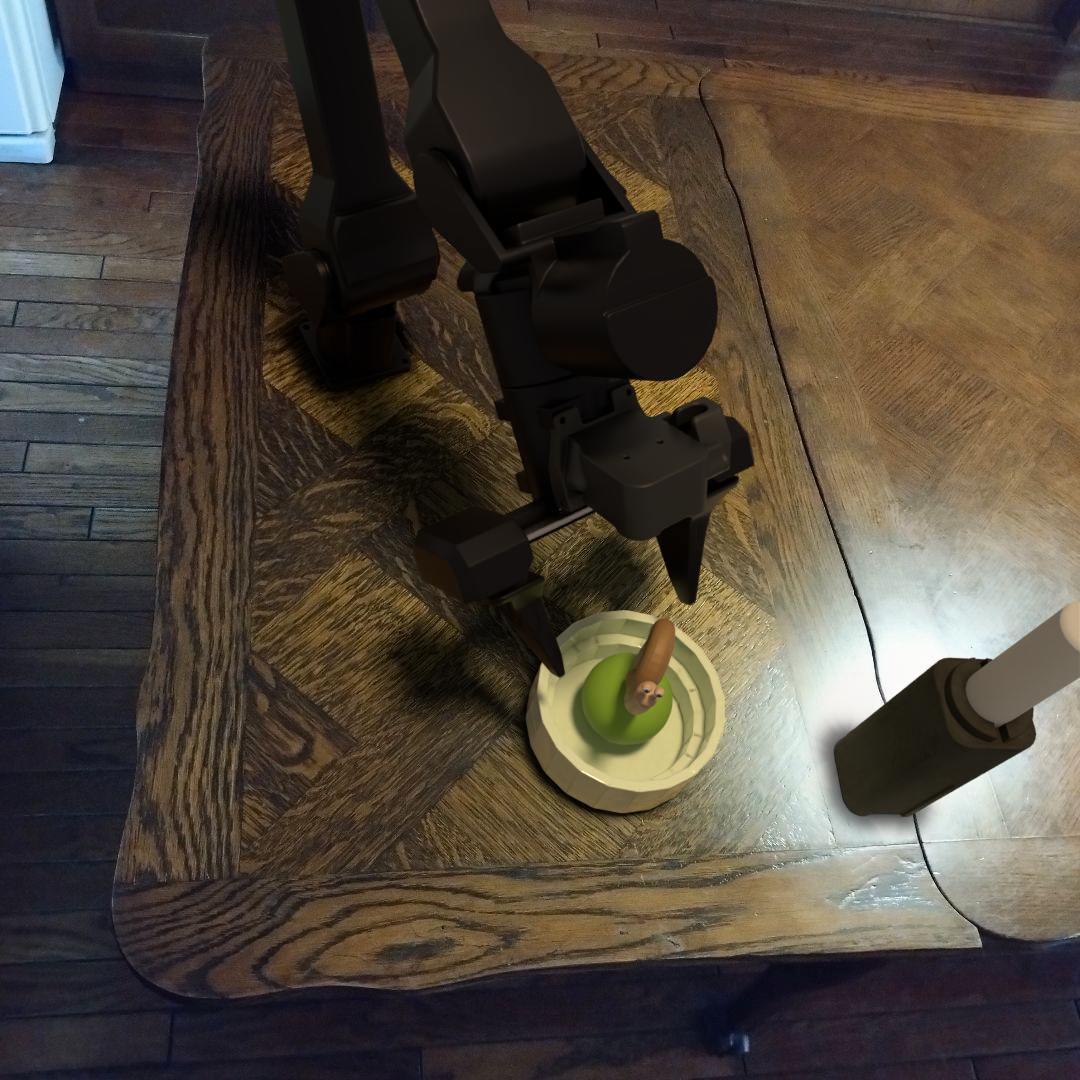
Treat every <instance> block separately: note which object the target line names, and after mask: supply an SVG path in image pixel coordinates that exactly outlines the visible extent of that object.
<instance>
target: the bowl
mask: <svg viewBox="0 0 1080 1080" xmlns="http://www.w3.org/2000/svg"><path fill="white" fill-rule="evenodd" d="M659 619H661V618H660V617H657V616H655V615H652V614H648V613H643V612H637V611H633V610H628V609H623V610H612V611H600V612H596V613H593V614H591V615H589V616H586V617H584V618H582V619H579V620H577V621H574V622H573V623H571V624H570V625H569V626H568V627H567V628H566V629H565V630H563V632H562V633H560V634H559V635H558V636H556V640H557V642H558V645H559V648H560V651H561V654H562V659H563V664H564V669H565V675H564V676H562V677H560V678H558V677H557V676H555V675H553V674H552V673H550V671H549V670H548V669H547V668H546V667H545V666H544V664H543V663H542V662H541V663H540V665H539V668H538V670H537V673H536V675H535V677H534V681H533V682H532V685H531V688H530V690H529V693H528V699H527V707H526V711H525V721H526V727H527V728H526V729H527V734H528V738H529V739H528V740H529V745H530V747H531V749H532V751H533V753H534V755H535V757H536V759H537V761H538V763H539V764H540V767H541V769H542V770H543V772H545V774H546V775H547V776H548V777H549V778H550V779H551V780H552V781H553V782H554V783H555V784H556V785H557V786H558V787H559V789H561V790H562V791H563V792H564V793H566V794H567V795H568V796H570V797H572V798H574V799H575V800H577V801H580V802H581V803H583V804H585V805H587V806H589V807H591V808H593V809H598V810H604V811H608V812H614V813H618V814H627V813H634V812H640V811H641V812H642V811H648V810H649V811H650V810H652V809H654V808H656V807H658V806H659V805H661V804H664V803H666V802H667V801H669V800H671V799H673V798H675V797H676V796H677V795H678V794H679V793H680V792H681V791H682V790H683V789H684V788H686V786H687V785H688V784H689V783H690V781H692V780H693V778H695V776H696V775H697V774H698V773H700V771H701V770H702V769H703V768H704V767H705V766H706V764H708V762H709V761H710V760H711V759H712V758H713V757H714V755H715V754H716V751H717V749H718V746H719V744H720V742H721V740H722V739H721V738H722V736H723V734H724V732H725V719H726V698H725V694H724V692H723V688H722V684H721V681H720V677H719V674H718V672H717V670H716V668H715V667H714V665H713V664H712V662H711V661H710V659H709V657H708V655H707V654H706V653H705V651H704V650H703V648H702V647H701V646H700V645H699V644H698V643H696V642H695V641H694V640H693V639H692V638H691V637H690V636H689V635H687V634H686V633H685V632H684V630H682V629H680V628H679V627H677V626H675V638H674V639H675V643H674V648H673V652H672V655H671V659H670V662H669V664H668V667H667V669H666V672H665V675H666V676H667V678H668V680H669V682H670V685H671V689H672V695H673V704H672V710H671V714H670V716H669V719H668V721H667V723H666V724H665V726H664V727H663V728H662V729H661V731H660V732H659V733H658V734H656V735H655V736H654V737H652V738H651V739H649V740H647V741H645V742H642V743H638V744H633V745H623V744H617V743H614V742H611V741H609V740H607V739H605V738H603V737H602V736H600V735H599V734H598V733H597V732H596V731H595V730H594V729H593V728H592V727H591V726H590V724H589V723H588V721H587V719H586V717H585V714H584V711H583V707H582V689H583V685H584V682H585V680H586V678H587V676H588V674H589V672H590V671H591V670H592V669H593V667H594V666H595V665H596V664H598V663H599V662H600V661H602V660H603V659H605V658H607V657H609V656H611V655H614V654H619V653H634V654H638V653H639V651H640V649H641V648H642V646H643V645H644V643H645V642H646V641H647V638H648V635H649V633H650V630H651V628H652V626H653V624H654V623H655V622H656V621H657V620H659Z"/></svg>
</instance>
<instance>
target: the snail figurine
mask: <svg viewBox="0 0 1080 1080" xmlns="http://www.w3.org/2000/svg"><path fill="white" fill-rule="evenodd" d="M675 627H676V626H675V624H674V623H673V621H671V619H669V618H660V619H659V620H657V621H656V622H655V623H654V624H653V626H652V628H651V630H650V633H649V635H648V638H647V641H646V642H645V643H644V645H643V646H642V648H641V649H640V651H639V653H638V654H634V653H619V654H614V655H611V656H609V657H607V658H605V659H603V660H602V661H600V662H599V663H598V664H596V665H595V666H594V667H593V669H592V670H591V671H590V672H589V674H588V676H587V678H586V680H585V682H584V685H583V689H582V707H583V711H584V714H585V717H586V719H587V721H588V723H589V724H590V726H591V727H592V728H593V729H594V730H595V731H596V732H597V733H598V734H599V735H600V736H602V737H603V738H605V739H607V740H609V741H611V742H614V743H617V744H623V745H633V744H638V743H642V742H645V741H647V740H649V739H651V738H652V737H654V736H655V735H656V734H658V733H659V732H660V731H661V729H662V728H663V727H664V726H665V724H666V723H667V721H668V719H669V716H670V714H671V710H672V704H673V695H672V689H671V685H670V682H669V680H668V678H667V676H666V675H665V672H666V669H667V667H668V664H669V662H670V659H671V655H672V652H673V648H674V643H675V639H674V638H675Z"/></svg>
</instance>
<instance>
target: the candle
mask: <svg viewBox="0 0 1080 1080" xmlns="http://www.w3.org/2000/svg"><path fill="white" fill-rule="evenodd" d="M1078 679H1080V600H1075V601H1073V602H1070V603H1067V604H1066V605H1065V606H1063V607H1062V608H1060V609H1059V610H1058V611H1057V612H1055V613H1054V614H1052V615H1051V616H1050V617H1049V618H1047V619H1046V620H1044V621H1043V622H1042V623H1041V624H1039V625H1037V626H1036V627H1035V628H1033V629H1032V630H1031V631H1029V633H1027V634H1025V635H1024V636H1023V637H1022V638H1020V639H1019V640H1017V641H1016V642H1014V643H1013V644H1012V645H1011V646H1009V647H1008V648H1006V649H1005V650H1004V651H1002V652H1001V653H1000V654H998V655H997V656H995V658H989V657H985V658H976V657H969V658H968V657H942V658H940V659H938V660H937V661H936V662H934V663H933V664H932V665H931V666H929V668H927V669H925V671H924V672H922V673H921V674H920V675H918V677H916V678H915V679H914V680H912V681H911V682H910V683H908V685H906V686H905V687H904V688H902V689H901V690H900V691H899V692H898V693H896V694H895V695H894V696H892V697H891V698H890V699H889V700H888V701H886V702H885V703H884V704H883V705H881V706H880V707H879V708H878V709H877V710H875V711H874V712H872V713H871V714H870V715H869V716H868V717H867V718H865V719H864V720H863V721H861V722H860V723H859V724H858V725H856V726H855V727H853V729H852V730H850V731H849V732H848V733H847V734H846V735H844V736H843V737H842V738H840V739H839V740H838V741H837V742H836V744H835V746H834V758H835V764H836V769H837V774H838V778H839V784H840V788H841V795H842V798H843V801H844V804H845V805H846V807H847V808H848V809H849V810H850V811H851V812H852V813H854V814H855V815H857V816H860V817H867V816H868V815H870V814H893V815H895V814H897V815H899V814H900V815H901V816H902V817H904V818H905V817H910V816H912V815H914V814H916V813H918V812H920V811H922V810H923V809H925V808H927V807H928V806H930V805H932V804H934V803H935V802H937V801H939V800H941V799H943V798H944V797H945V796H948V795H949V794H951V793H953V792H955V791H956V790H958V789H960V788H962V787H964V786H966V785H967V784H969V783H971V782H972V781H974V780H975V779H977V778H979V777H981V776H983V775H984V774H986V773H988V772H989V771H991V770H993V769H994V768H995V769H996V767H998V766H1000V765H1001V764H1003V763H1005V762H1007V761H1009V760H1011V759H1012V758H1014V757H1016V756H1017V755H1019V754H1021V753H1023V752H1024V751H1027V750H1028V749H1030V748H1031V747H1032V746H1033V745H1034V744H1035V741H1036V740H1037V739H1036V738H1037V730H1036V726H1035V723H1034V711H1035V708H1034V707H1036V706H1037V705H1039V704H1040V703H1042V702H1043V701H1045V700H1047V699H1049V698H1050V697H1051V696H1053V695H1055V694H1056V693H1058V692H1059V691H1061V690H1062V689H1065V688H1066V687H1067V686H1069V685H1071V684H1072V683H1074V682H1076V681H1077V680H1078Z"/></svg>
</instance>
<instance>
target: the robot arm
mask: <svg viewBox="0 0 1080 1080" xmlns="http://www.w3.org/2000/svg"><path fill="white" fill-rule="evenodd" d="M374 1H375V3H376V6H377V9H378V10H379V13H380V16H381V18H382V21H383V23H384V25H385V27H386V30H387V32H388V36H389V38H390V40H391V42H392V45H393V47H394V51H395V52H396V55H397V58H398V59H399V63H400V65H401V68H402V71H403V74H404V77H405V80H406V83H407V86H408V90H409V92H408V93H409V94H408V101H407V108H406V115H405V122H404V128H403V129H404V130H403V144H404V147H405V149H406V153H407V156H408V158H409V162H410V164H411V167H412V180H413V187H414V190H413V188H412V187H411V186H410V185H409V184H408V183H407V182H406V180H405V179H404V178H403V177H402V175H400V174H399V172H398V171H397V170H396V168H394V166H393V164H392V160H391V156H390V152H389V151H390V150H389V145H388V140H387V134H386V128H385V124H384V119H383V118H384V117H383V112H382V107H381V103H380V97H379V91H378V90H379V89H378V85H377V80H376V75H375V69H374V64H373V59H372V52H371V48H370V42H369V37H368V31H367V26H366V21H365V14H364V10H363V9H364V8H363V3H362V0H273V2H274V6H275V10H276V14H277V19H278V23H279V27H280V31H281V35H282V36H281V37H282V41H283V45H284V50H285V53H286V57H287V63H288V67H289V71H290V75H291V79H292V83H293V89H294V92H295V93H294V94H295V97H296V102H297V106H298V110H299V115H300V119H301V123H302V128H303V132H304V137H305V140H306V146H307V149H308V153H309V158H310V162H311V167H312V168H311V169H312V174H311V176H310V180H309V183H308V186H307V188H306V189H307V190H306V193H305V195H304V199H303V202H302V205H301V208H300V211H299V215H298V225H299V229H300V230H299V231H300V236H301V242H302V246H303V250H301V251H297V252H294V253H291V254H288V255H284V256H281V258H280V261H281V266H282V270H283V275H284V280H285V285H286V286H287V288H288V290H289V292H290V293H291V294H292V296H293V297H294V299H295V300H296V301H297V303H298V305H299V306H300V307H301V309H302V310H303V312H304V313H305V315H306V317H307V318H308V319H309V321H305V322H302V323H301V324H300V325H299V334H300V335H301V337H302V339H303V341H304V343H305V345H306V347H307V349H308V351H309V353H310V354H311V355H310V356H312V358H313V360H314V363H315V364H316V366H317V369H318V370H319V372H320V374H321V376H322V377H323V380H324V381H325V383H326V386H327V387H328V388H329V389H330V390H331V391H340V390H343V389H347V388H350V387H353V386H357V385H360V384H364V383H367V382H368V383H369V382H371V381H374V380H378V379H382V378H385V377H388V376H392V375H395V374H399V373H403V372H405V371H406V372H407V371H408V370H410V369H411V368H412V364H413V363H412V359H411V358H410V356H409V353H407V351H406V349H405V347H404V345H403V344H402V342H401V340H400V338H399V336H398V335H397V333H396V323H397V308H398V302H399V301H402V300H404V299H407V298H411V297H414V296H416V295H417V296H421V295H424V294H425V293H426V292H427V291H428V290H430V288H431V286H432V283H433V281H436V280H437V278H438V273H439V267H440V265H441V263H440V262H441V258H442V257H441V252H440V247H439V242H438V239H437V236H436V234H435V232H434V230H435V231H436V233H437V234H439V235H440V236H441V237H442V238H443V239H444V240H445V241H446V242H447V243H448V244H449V245H450V246H451V247H452V248H453V249H454V250H455V251H456V252H457V253H458V254H459V255H460V256H462V258H464V259H465V260H466V261H465V262H464V264H463V266H462V267H461V268H460V270H459V272H458V275H457V278H456V286H457V289H458V291H460V292H461V293H470V292H471V293H473V295H474V296H473V297H474V301H475V305H476V308H477V311H478V315H479V319H480V321H481V324H482V325H481V326H482V328H483V331H484V335H485V339H486V342H487V346H488V349H489V352H490V356H491V361H492V363H493V366H494V370H495V374H496V378H497V380H498V384H499V387H500V391H501V395H502V397H501V398H499V399H496V400H493V405H494V408H495V412H496V415H497V419H498V420H499V421H505V422H510V426H511V429H512V433H513V436H514V440H515V443H516V446H517V450H518V455H519V457H520V461H521V464H522V468H523V470H521V471H518V472H516V473H514V476H515V477H514V478H515V480H516V484H517V488H518V491H519V492H521V493H524V494H528V495H531V499H532V501H530V502H528V503H526V504H524V505H521V506H519V507H517V508H514V509H513V510H511V511H508V512H507V513H504V514H503V513H501V512H497V511H494V510H491V509H489V508H485V507H482V506H480V505H477V504H472V505H470V506H467V507H466V508H463V509H461V510H459V511H457V512H455V513H454V512H453V513H452V514H449V515H448V516H445V517H442V518H441V519H439V520H437V521H434V522H432V523H430V524H428V525H425V526H423V527H421V528H418V530H417V532H416V536H415V539H414V542H413V549H412V554H413V557H414V561H415V563H416V566H417V569H418V572H419V575H420V578H421V581H422V582H425V583H426V584H428V585H429V586H431V587H433V588H436V589H438V590H439V591H441V592H443V593H445V594H447V595H449V596H451V598H455V600H458V601H460V602H462V603H464V604H470V603H476V602H481V603H483V604H485V605H486V606H490V607H494V609H496V610H497V611H498V612H499V613H500V614H501V615H502V616H503V618H504V619H505V620H506V621H507V622H508V623H509V624H510V626H511V627H512V628H513V629H514V631H515V632H516V633H517V634H518V636H519V637H520V638H521V639H522V640H523V641H524V643H525V644H526V645H527V646H528V648H529V649H530V650H531V651H532V653H534V655H535V656H536V657H537V658H538V660H539V661H540V662H541V663H543V664H544V666H545V667H546V668H547V669H548V670H549V671H550V673H552V674H553V675H555V676H557V677H558V678H560V677H562V676H564V675H565V669H564V664H563V659H562V654H561V651H560V648H559V645H558V642H557V640H556V638H557V636H556V634H555V631H554V628H553V626H552V622H551V620H550V618H549V614H548V612H547V609H546V607H545V604H544V600H543V590H544V586H545V581H546V578H545V576H544V575H541V574H539V573H537V572H535V571H532V570H530V569H531V566H532V564H533V562H534V559H535V557H534V553H533V550H532V546H531V544H533V543H535V542H537V541H539V540H542V539H544V538H545V537H547V536H549V535H552V534H554V533H556V532H558V531H560V530H563V529H564V528H567V527H569V526H570V525H573V524H575V523H577V522H579V521H582V520H583V519H585V518H587V517H589V516H591V515H593V514H597V515H598V516H600V517H601V518H603V519H604V520H605V521H607V523H609V524H610V525H612V526H613V527H614V529H615V530H616V532H617V533H618V534H619V535H620V536H622V537H623V538H625V539H627V540H630V541H634V542H645V541H649V540H652V539H653V538H655V539H656V542H657V544H658V548H659V551H660V553H661V557H662V560H663V563H664V567H665V569H666V572H667V576H668V578H669V581H670V583H671V585H672V587H673V590H674V592H675V594H676V596H677V598H678V600H679V601H680V603H682V604H684V605H687V606H693V605H694V604H695V603H696V602H697V598H698V592H699V591H698V590H699V585H700V584H699V583H700V576H701V570H702V564H703V563H702V562H703V555H704V548H705V543H706V537H707V532H708V527H709V523H710V520H711V516H712V513H713V510H714V509H715V508H716V507H717V505H718V504H719V503H720V502H721V501H722V499H723V498H724V497H725V496H726V495H727V494H728V493H729V492H730V491H732V490H734V489H735V488H737V487H738V485H739V482H740V476H739V475H737V474H740V473H742V472H744V471H746V470H748V469H750V468H752V467H754V466H755V463H756V462H755V455H754V450H753V446H752V441H751V435H750V433H749V431H748V430H747V429H746V428H745V427H744V425H742V423H741V422H740V421H739V420H738V419H736V417H734V416H728V415H725V413H724V410H723V406H722V405H721V404H719V403H717V402H715V401H714V400H713V399H711V398H708V397H706V396H705V395H703V396H702V395H701V396H700V397H697V398H695V399H693V400H690V401H688V402H686V403H684V404H681V405H679V406H677V407H675V409H673V411H672V412H669V411H667V410H665V411H662V412H661V413H658V414H655V415H653V416H651V415H650V416H649V415H648V414H646V413H645V411H644V409H643V408H642V406H641V404H640V402H639V399H638V395H637V392H636V388H635V386H634V385H633V384H632V383H631V381H632V380H633V381H645V382H659V383H660V382H661V383H663V382H668V381H675V380H678V379H680V378H681V377H684V376H685V375H686V374H688V373H689V372H690V371H692V370H693V369H694V368H696V367H697V366H698V364H699V363H700V362H701V361H702V359H703V358H704V357H705V356H706V354H707V352H708V350H709V348H710V346H711V344H712V342H713V339H714V336H715V333H716V330H717V325H718V315H719V302H718V301H719V300H718V291H717V287H716V283H715V280H714V278H713V277H712V276H711V275H709V273H708V271H707V270H706V267H705V265H704V264H703V262H702V261H701V260H700V258H699V257H698V256H697V255H696V254H695V252H693V251H692V250H691V249H690V248H688V247H687V246H685V244H683V243H681V242H677V241H675V240H672V239H668V238H665V237H664V233H663V228H662V223H661V219H660V214H659V212H658V211H656V209H648V210H643V211H639V212H638V211H637V210H636V208H635V207H634V205H633V204H632V202H631V201H630V200H629V198H628V197H627V192H628V191H627V188H625V186H623V184H622V183H621V182H620V181H618V179H617V178H616V177H615V176H614V175H613V174H612V173H611V172H610V171H609V170H608V169H607V167H606V166H605V165H604V163H603V162H602V160H601V158H600V157H599V156H598V154H597V153H596V151H595V150H594V149H593V148H592V146H591V145H590V143H589V142H588V141H587V139H586V137H585V136H584V135H583V133H582V132H581V131H580V130H579V128H578V127H577V125H576V122H575V121H574V119H573V117H572V115H571V113H570V111H569V109H568V107H567V105H566V103H565V102H564V99H563V97H562V95H561V93H560V91H559V89H558V88H557V85H556V84H555V82H554V80H553V78H552V76H551V74H550V73H549V71H548V69H547V68H546V67H545V66H544V65H543V64H542V63H540V62H539V61H538V60H537V59H535V58H534V57H533V56H532V55H531V54H529V53H528V52H527V51H526V50H524V48H522V47H521V46H520V45H519V44H518V43H516V42H515V41H514V40H513V39H512V38H510V37H509V36H508V35H507V33H506V31H505V29H504V27H503V25H502V23H501V21H500V19H499V17H498V15H497V13H496V11H495V9H494V5H493V3H492V1H491V0H374ZM433 229H434V230H433Z"/></svg>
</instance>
